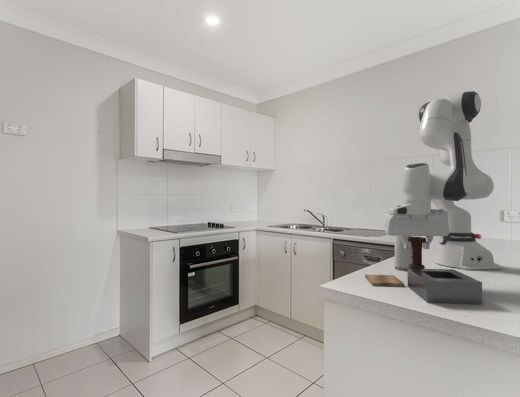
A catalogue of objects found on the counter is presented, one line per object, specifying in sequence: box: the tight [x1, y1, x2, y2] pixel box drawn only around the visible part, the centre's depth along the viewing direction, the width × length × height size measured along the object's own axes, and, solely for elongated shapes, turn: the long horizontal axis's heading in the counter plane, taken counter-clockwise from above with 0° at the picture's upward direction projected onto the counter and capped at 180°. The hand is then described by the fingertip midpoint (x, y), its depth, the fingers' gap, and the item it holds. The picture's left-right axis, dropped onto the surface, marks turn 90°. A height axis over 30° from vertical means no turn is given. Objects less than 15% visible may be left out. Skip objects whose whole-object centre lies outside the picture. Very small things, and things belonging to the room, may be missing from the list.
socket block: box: [406, 268, 483, 305], centre depth 85 cm, size 14×14×6 cm
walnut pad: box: [364, 274, 405, 288], centre depth 98 cm, size 10×10×1 cm
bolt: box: [408, 236, 427, 269], centre depth 100 cm, size 6×5×15 cm
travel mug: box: [394, 236, 413, 272], centre depth 115 cm, size 6×7×20 cm
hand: (416, 248), depth 100 cm, fingers closed on bolt, 5 cm apart
